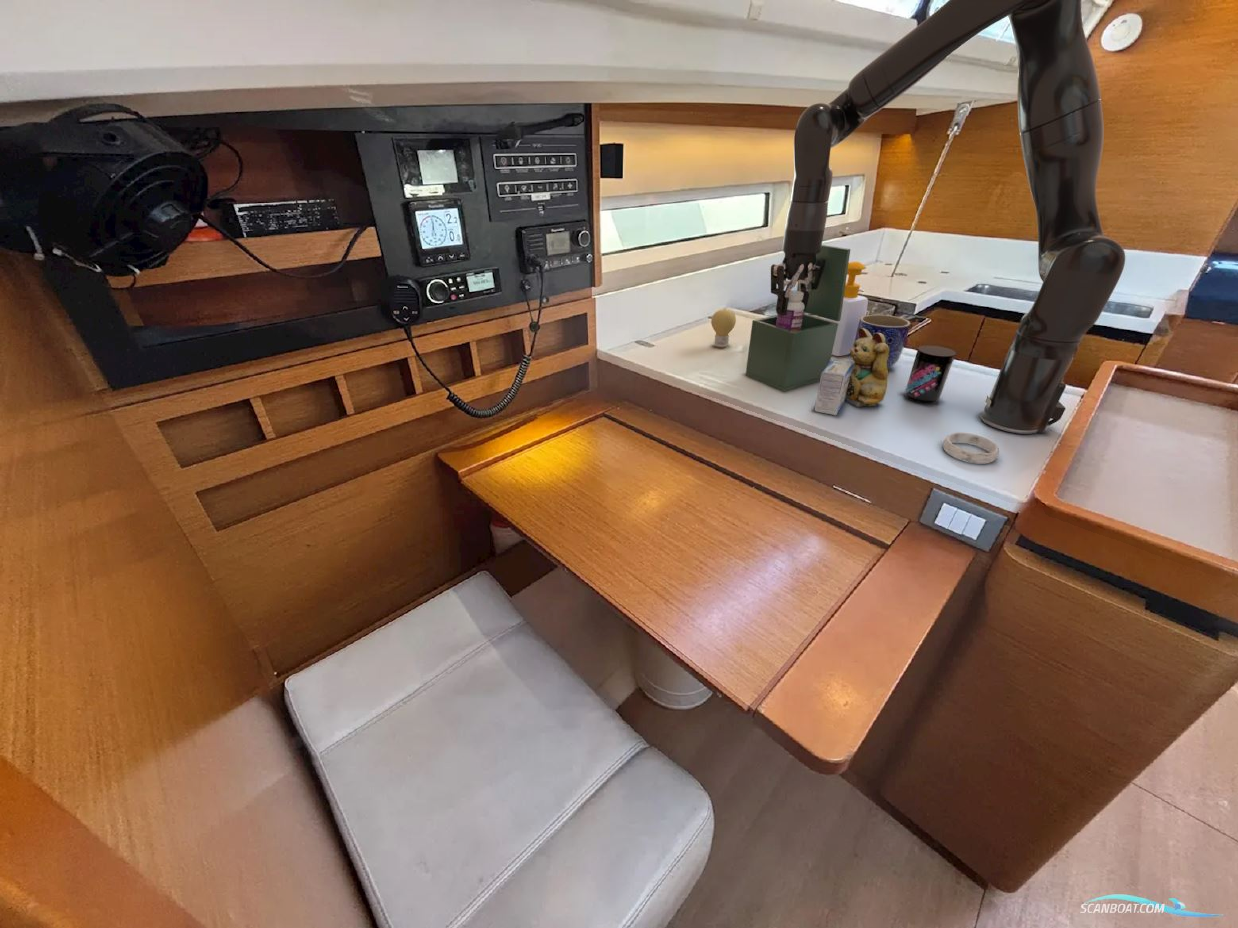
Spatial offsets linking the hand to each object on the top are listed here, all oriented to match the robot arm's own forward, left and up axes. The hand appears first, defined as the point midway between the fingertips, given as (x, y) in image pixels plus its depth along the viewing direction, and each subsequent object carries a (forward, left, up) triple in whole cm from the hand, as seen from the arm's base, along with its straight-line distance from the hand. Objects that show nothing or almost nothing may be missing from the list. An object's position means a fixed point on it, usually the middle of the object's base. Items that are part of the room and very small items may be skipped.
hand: (790, 312), depth 108 cm
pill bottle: (0, 0, -6) cm, 6 cm away
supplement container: (-29, +2, -16) cm, 33 cm away
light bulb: (+17, -20, -16) cm, 30 cm away
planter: (-21, -16, -16) cm, 31 cm away
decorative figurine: (-17, +7, -16) cm, 24 cm away
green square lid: (-5, -6, +5) cm, 9 cm away
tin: (-1, -2, -15) cm, 15 cm away
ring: (-33, +25, -16) cm, 45 cm away
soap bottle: (-11, -27, -16) cm, 33 cm away
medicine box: (-11, +13, -16) cm, 23 cm away
